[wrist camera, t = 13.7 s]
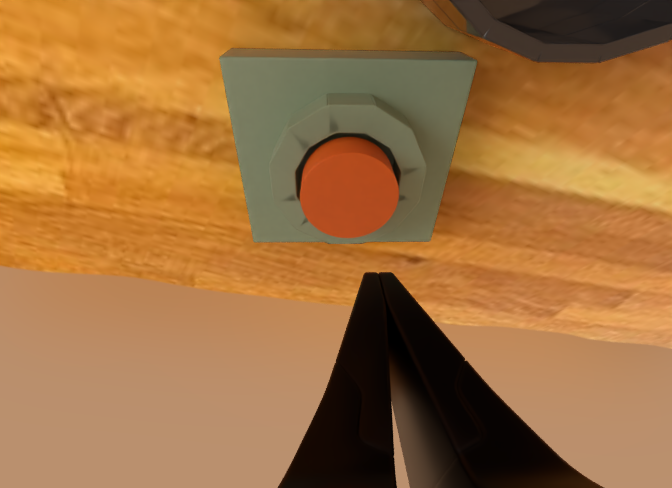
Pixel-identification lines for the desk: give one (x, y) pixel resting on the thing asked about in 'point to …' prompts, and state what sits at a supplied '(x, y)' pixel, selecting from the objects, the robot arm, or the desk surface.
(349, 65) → the control block
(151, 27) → the desk surface
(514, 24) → the bowl
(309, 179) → the button
